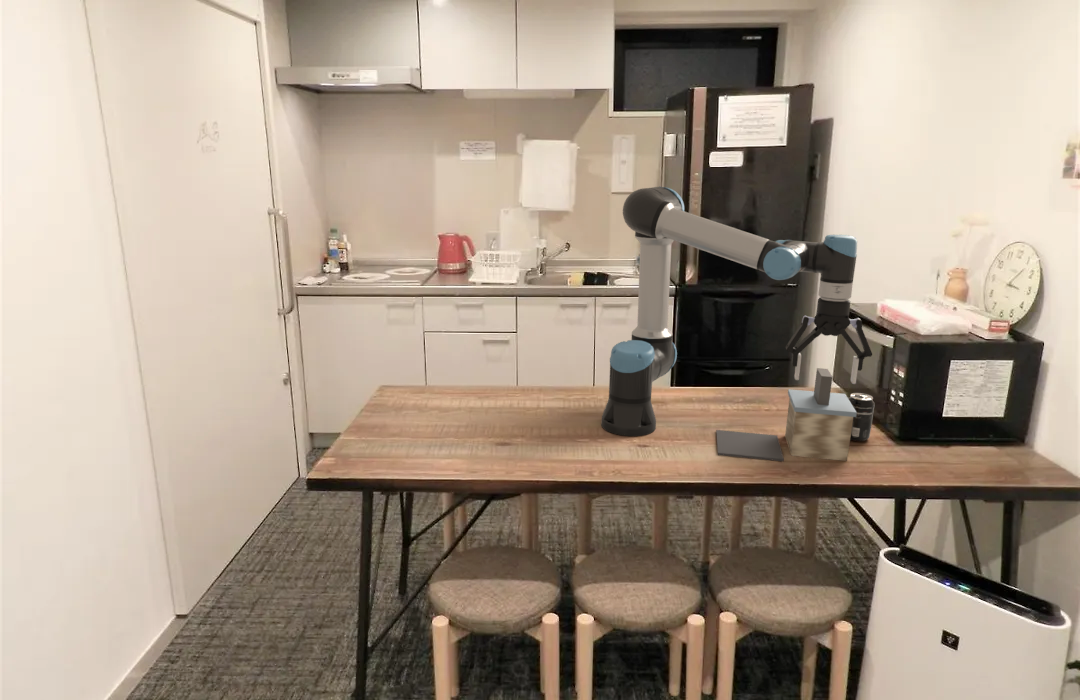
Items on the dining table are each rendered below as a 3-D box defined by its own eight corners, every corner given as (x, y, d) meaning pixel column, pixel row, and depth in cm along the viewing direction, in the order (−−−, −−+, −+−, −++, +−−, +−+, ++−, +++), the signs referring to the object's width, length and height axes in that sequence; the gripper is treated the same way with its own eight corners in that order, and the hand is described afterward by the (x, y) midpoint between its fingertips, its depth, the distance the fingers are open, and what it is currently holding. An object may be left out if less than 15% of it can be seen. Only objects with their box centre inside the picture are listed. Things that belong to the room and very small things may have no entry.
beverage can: (845, 431, 198) (851, 390, 195) (871, 437, 195) (878, 395, 191) (839, 438, 193) (845, 397, 190) (866, 445, 189) (872, 402, 186)
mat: (717, 454, 181) (718, 452, 181) (716, 431, 196) (716, 429, 196) (783, 461, 178) (783, 459, 178) (776, 437, 193) (777, 435, 193)
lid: (794, 416, 179) (798, 378, 176) (787, 397, 192) (791, 362, 189) (855, 421, 176) (860, 383, 173) (844, 402, 189) (849, 366, 187)
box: (791, 455, 182) (796, 411, 179) (785, 435, 194) (789, 394, 191) (846, 460, 179) (853, 416, 176) (837, 440, 192) (842, 398, 189)
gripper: (783, 298, 175) (775, 381, 181) (892, 303, 170) (880, 388, 176) (779, 293, 182) (772, 372, 188) (884, 298, 177) (873, 379, 183)
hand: (824, 380), depth 182 cm, fingers open, 13 cm apart
